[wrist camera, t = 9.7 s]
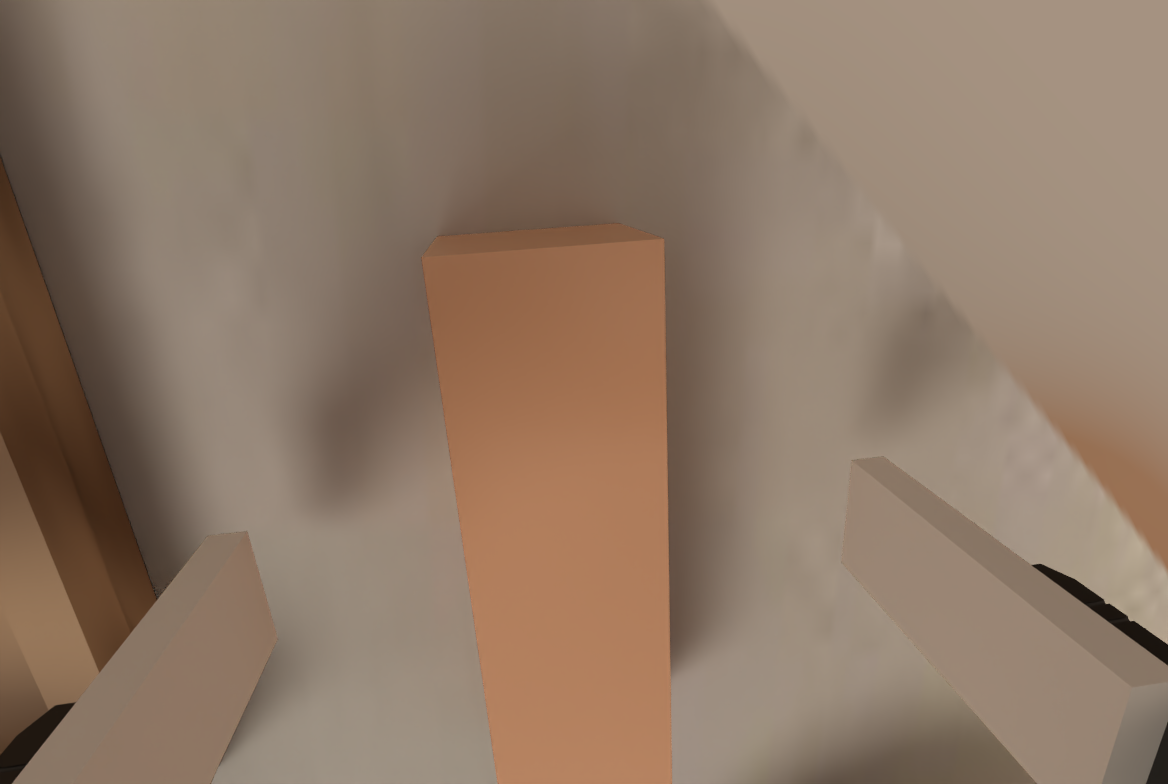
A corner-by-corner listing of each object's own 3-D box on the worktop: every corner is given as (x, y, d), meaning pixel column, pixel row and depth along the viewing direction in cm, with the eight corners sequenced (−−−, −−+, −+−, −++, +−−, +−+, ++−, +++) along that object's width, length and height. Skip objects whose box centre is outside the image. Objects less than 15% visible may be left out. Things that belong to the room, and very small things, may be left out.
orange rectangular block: (634, 696, 19) (672, 825, 15) (503, 719, 18) (508, 857, 15) (616, 222, 14) (664, 238, 10) (437, 235, 14) (421, 257, 10)
